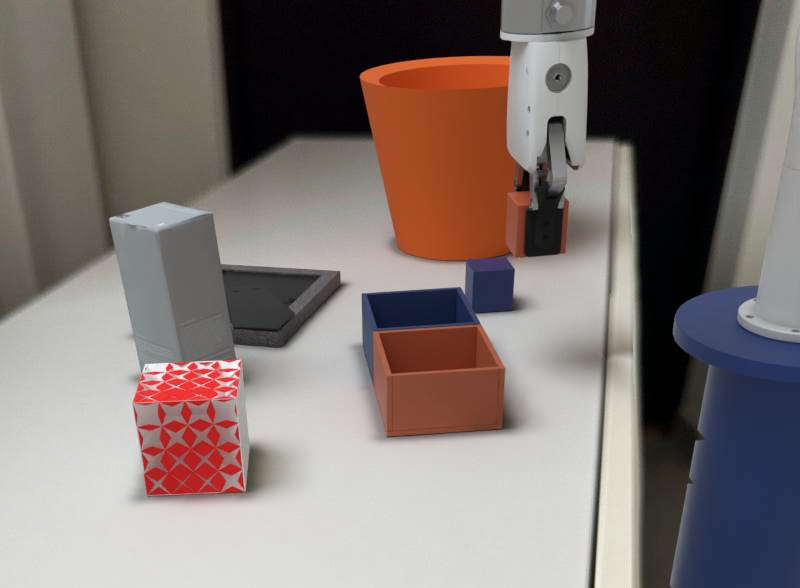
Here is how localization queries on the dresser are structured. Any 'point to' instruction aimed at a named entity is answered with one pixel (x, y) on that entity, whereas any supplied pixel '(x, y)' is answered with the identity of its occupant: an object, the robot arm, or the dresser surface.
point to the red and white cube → (192, 427)
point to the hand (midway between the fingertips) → (535, 244)
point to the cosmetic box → (173, 284)
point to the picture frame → (273, 300)
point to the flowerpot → (444, 153)
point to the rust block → (516, 222)
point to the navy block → (489, 284)
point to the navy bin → (412, 313)
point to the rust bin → (437, 380)
